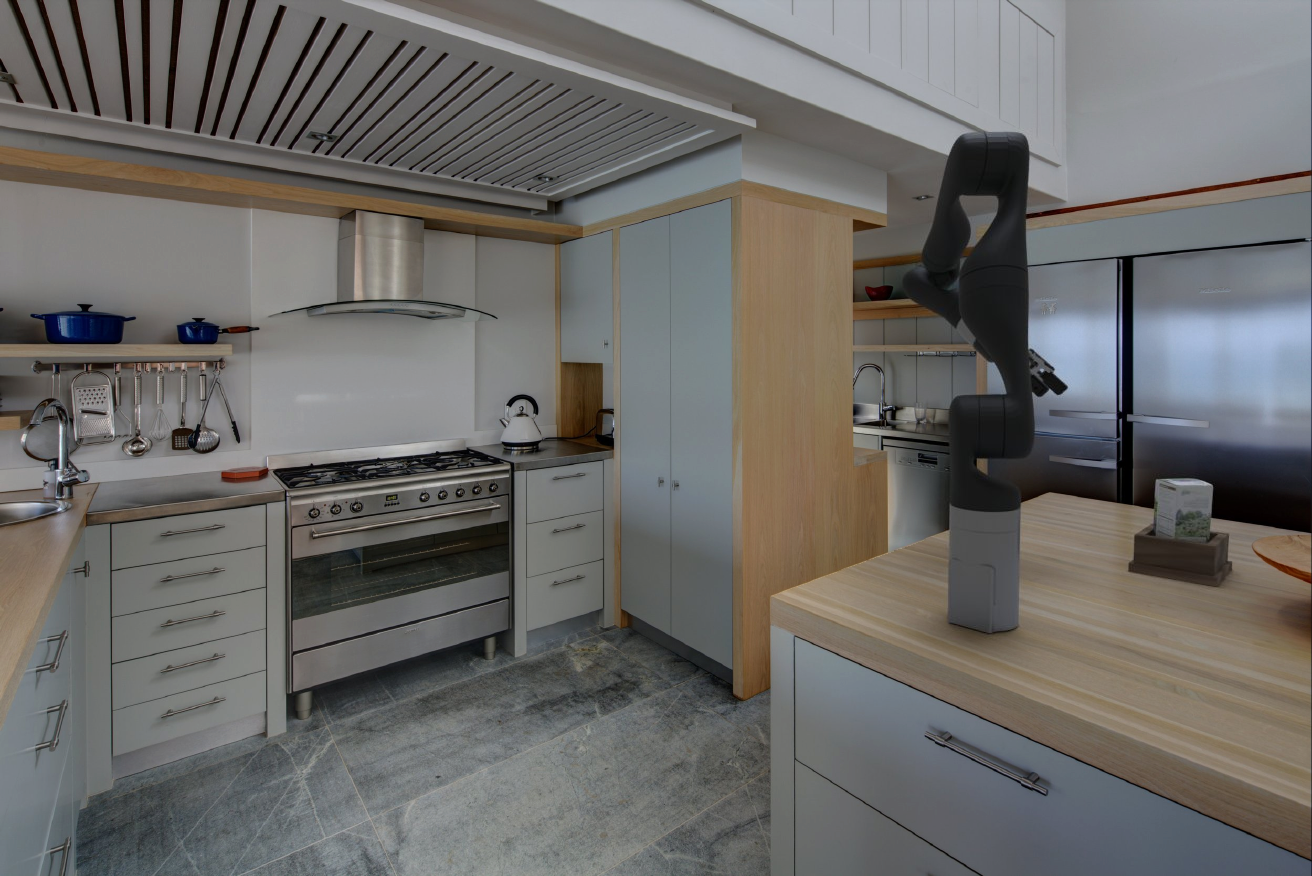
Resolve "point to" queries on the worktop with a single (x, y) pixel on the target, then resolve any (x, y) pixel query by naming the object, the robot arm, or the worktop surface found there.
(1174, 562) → the holder
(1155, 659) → the worktop surface
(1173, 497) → the syrup box
